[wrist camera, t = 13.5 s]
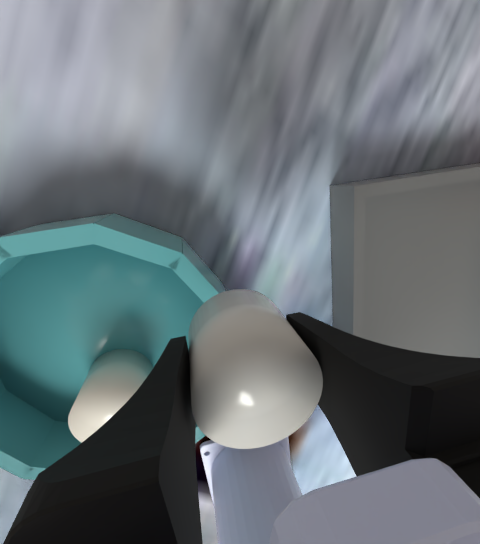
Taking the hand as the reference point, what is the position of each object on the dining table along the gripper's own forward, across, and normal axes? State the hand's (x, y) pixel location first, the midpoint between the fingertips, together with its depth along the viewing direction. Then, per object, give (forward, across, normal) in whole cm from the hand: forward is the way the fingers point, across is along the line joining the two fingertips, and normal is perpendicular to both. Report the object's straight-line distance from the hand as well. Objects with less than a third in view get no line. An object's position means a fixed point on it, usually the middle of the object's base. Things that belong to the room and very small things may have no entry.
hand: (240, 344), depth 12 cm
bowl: (+9, +8, +3) cm, 12 cm away
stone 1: (+8, +8, +6) cm, 12 cm away
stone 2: (+1, 0, 0) cm, 1 cm away
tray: (+9, -17, +5) cm, 20 cm away
